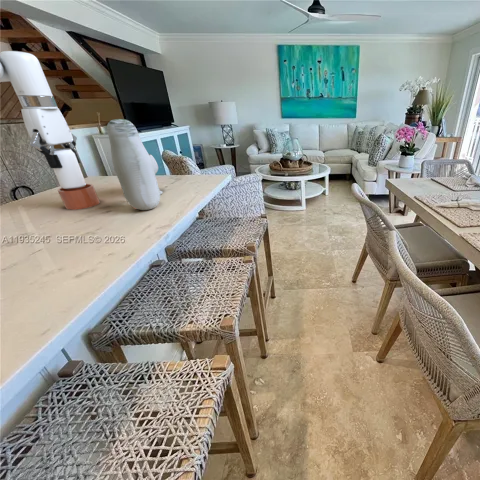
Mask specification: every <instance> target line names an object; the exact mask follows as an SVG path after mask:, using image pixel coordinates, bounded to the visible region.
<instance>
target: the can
mask: <svg viewBox="0 0 480 480" xmlns="http://www.w3.org/2000/svg"><path fill="white" fill-rule="evenodd" d="M47 149H48V150H49V148H47ZM54 155H57V156H58V158H59V160H60V162H61V165H62V168H52V170H53V172H54V174H55V177H56V179H57V181H58V184H59V187H60V188H63V189H75V188H81V187H84V186H85V185H86V184H87V183H86V179H85V177H84V175H83V172H82V169H81V166H80V163H78V161H77V158H76V156H75V153H74V152H73V151H72V150H71V148H63V147H60V148H54Z"/></svg>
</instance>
